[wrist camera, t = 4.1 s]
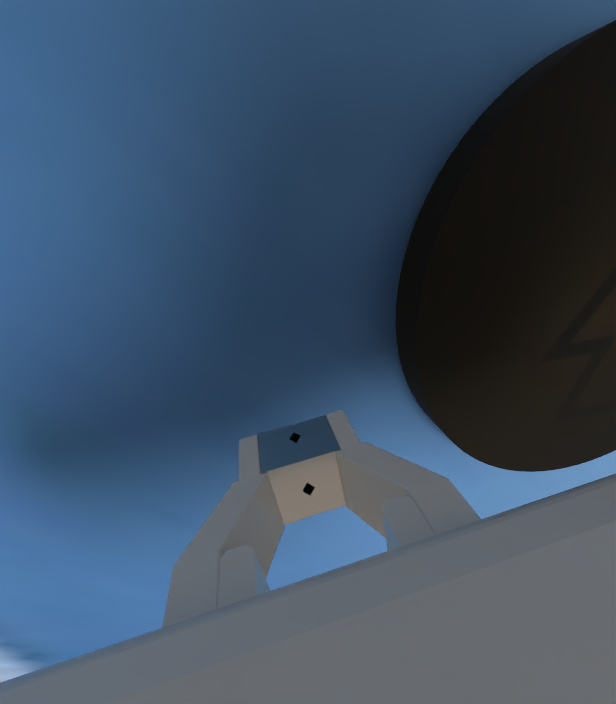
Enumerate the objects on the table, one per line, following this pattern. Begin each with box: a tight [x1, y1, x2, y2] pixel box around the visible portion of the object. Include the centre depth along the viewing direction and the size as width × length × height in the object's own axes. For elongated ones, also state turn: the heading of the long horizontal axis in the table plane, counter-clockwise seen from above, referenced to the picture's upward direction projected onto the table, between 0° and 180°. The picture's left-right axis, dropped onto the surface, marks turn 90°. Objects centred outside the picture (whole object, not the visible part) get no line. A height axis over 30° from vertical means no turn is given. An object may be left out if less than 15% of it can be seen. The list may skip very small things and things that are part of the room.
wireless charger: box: [396, 20, 616, 472], centre depth 14 cm, size 18×18×2 cm
